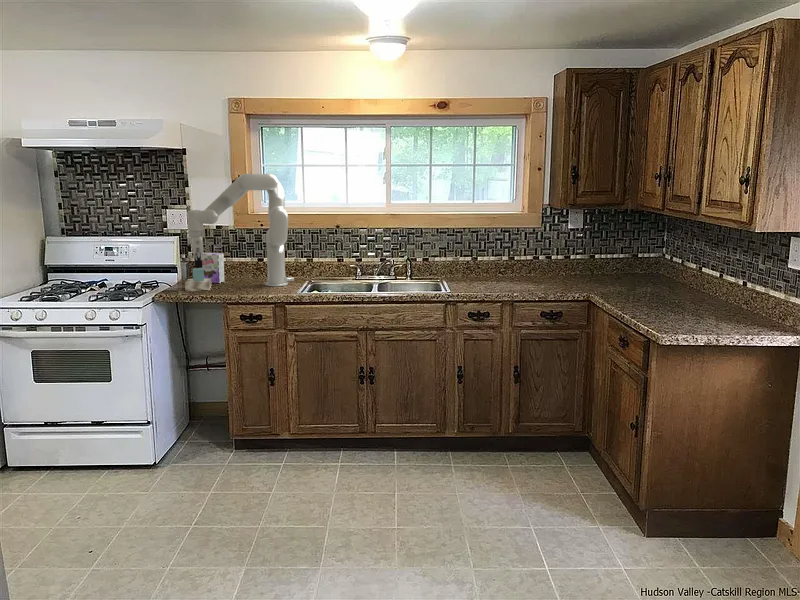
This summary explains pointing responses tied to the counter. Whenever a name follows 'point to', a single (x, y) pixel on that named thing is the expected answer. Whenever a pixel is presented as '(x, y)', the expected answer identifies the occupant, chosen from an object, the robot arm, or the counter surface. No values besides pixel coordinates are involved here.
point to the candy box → (213, 266)
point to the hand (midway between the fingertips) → (198, 266)
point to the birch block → (198, 285)
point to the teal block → (198, 274)
